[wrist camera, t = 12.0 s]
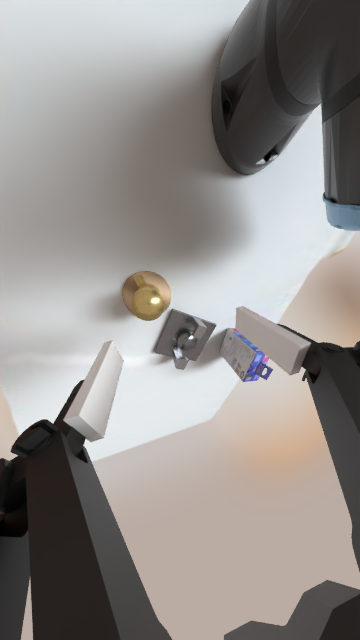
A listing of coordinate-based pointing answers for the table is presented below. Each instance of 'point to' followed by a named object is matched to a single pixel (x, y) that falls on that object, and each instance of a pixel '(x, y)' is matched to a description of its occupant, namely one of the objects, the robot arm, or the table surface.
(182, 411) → the table surface
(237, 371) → the ink cartridge box
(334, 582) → the robot arm
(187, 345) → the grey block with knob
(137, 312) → the bell
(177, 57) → the table surface
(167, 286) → the coaster
